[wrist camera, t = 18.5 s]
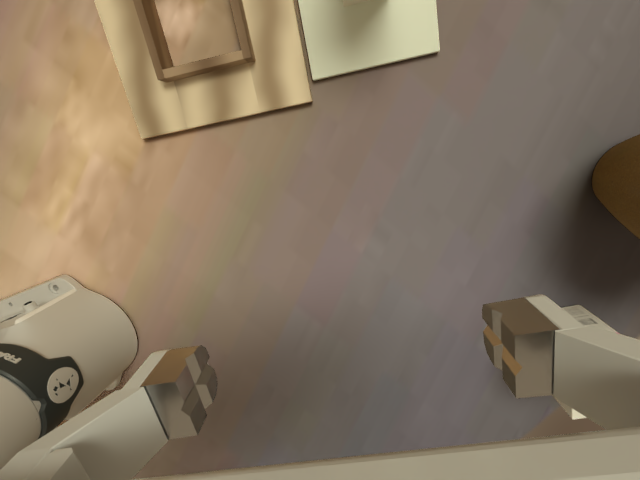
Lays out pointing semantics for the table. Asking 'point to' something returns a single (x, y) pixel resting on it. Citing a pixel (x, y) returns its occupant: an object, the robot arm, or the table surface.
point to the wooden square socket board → (206, 67)
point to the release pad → (366, 33)
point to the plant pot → (620, 183)
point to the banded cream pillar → (352, 2)
